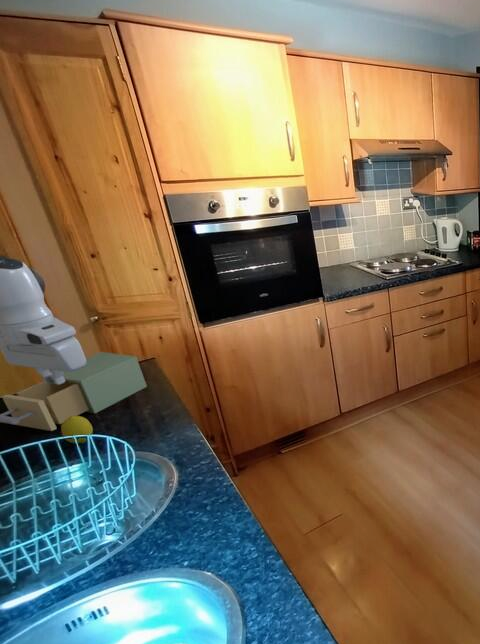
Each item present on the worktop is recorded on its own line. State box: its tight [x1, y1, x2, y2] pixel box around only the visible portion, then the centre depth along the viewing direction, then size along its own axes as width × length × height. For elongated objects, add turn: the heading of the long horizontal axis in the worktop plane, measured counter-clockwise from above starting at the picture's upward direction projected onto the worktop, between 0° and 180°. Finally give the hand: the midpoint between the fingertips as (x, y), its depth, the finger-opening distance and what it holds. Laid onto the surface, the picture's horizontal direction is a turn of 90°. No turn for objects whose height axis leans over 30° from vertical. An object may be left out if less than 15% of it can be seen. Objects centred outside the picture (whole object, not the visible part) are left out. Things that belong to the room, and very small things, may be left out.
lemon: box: [60, 415, 94, 444], centre depth 113 cm, size 6×6×8 cm
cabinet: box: [63, 351, 148, 414], centre depth 133 cm, size 16×14×11 cm
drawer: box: [0, 380, 91, 432], centre depth 122 cm, size 20×12×9 cm, turn 167°
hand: (56, 382), depth 108 cm, fingers closed
